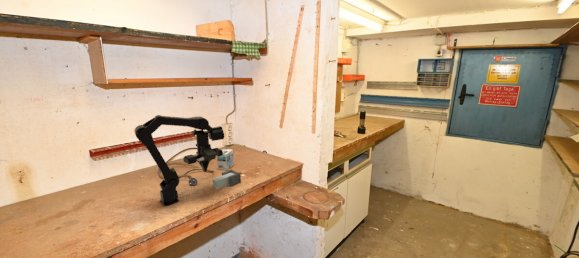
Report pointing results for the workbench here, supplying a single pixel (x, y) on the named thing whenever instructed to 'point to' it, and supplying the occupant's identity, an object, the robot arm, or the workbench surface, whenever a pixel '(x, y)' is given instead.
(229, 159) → the light bulb box
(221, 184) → the grey rectangular block
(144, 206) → the workbench surface
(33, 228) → the workbench surface
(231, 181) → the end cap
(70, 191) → the workbench surface
